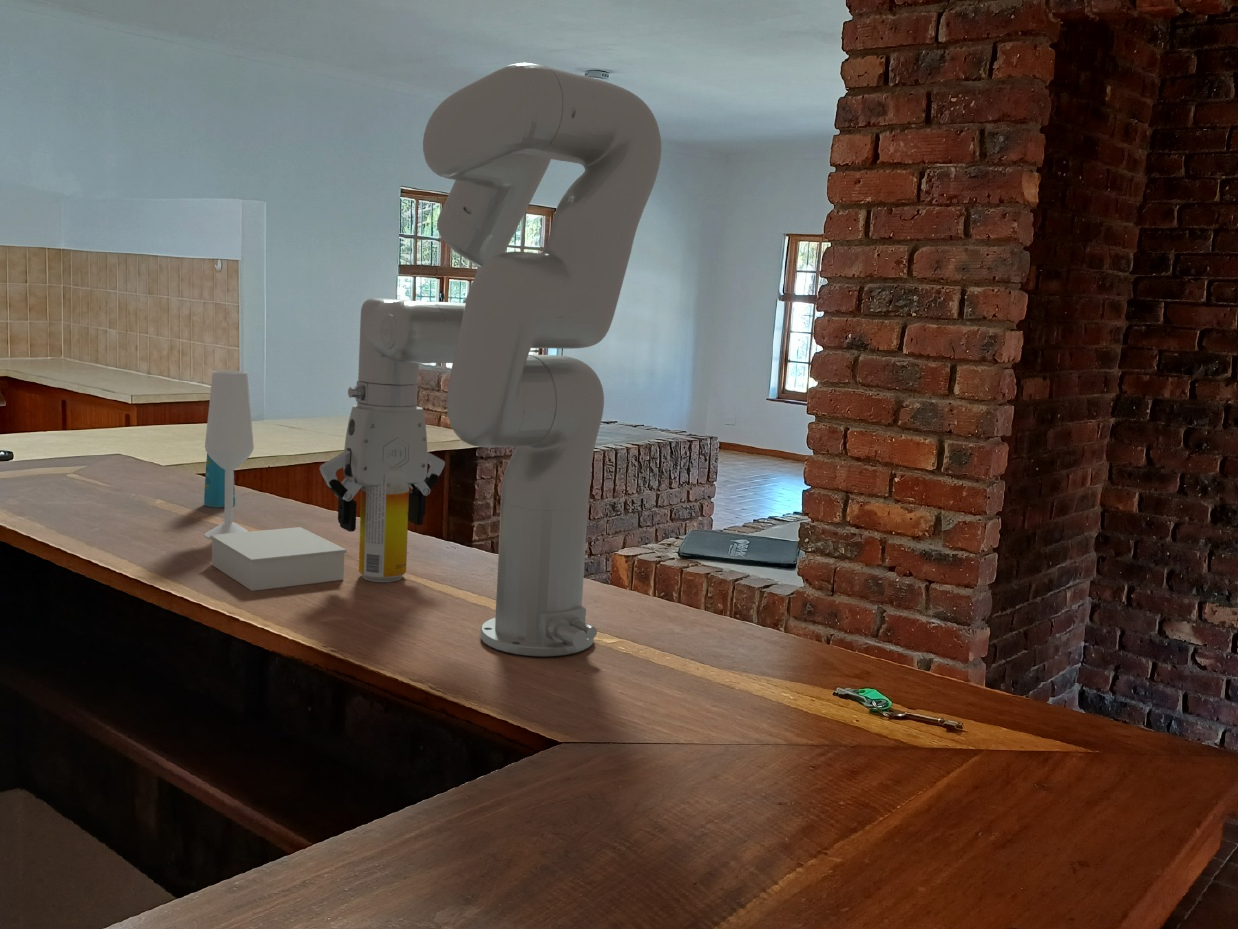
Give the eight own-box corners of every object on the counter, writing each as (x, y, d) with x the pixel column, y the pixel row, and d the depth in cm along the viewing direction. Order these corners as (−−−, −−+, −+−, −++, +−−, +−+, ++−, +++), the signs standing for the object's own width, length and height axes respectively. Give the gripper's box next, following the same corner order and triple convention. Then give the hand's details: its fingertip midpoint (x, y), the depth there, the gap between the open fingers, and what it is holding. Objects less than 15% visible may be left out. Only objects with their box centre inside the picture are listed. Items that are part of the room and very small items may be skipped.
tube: (201, 501, 183) (201, 387, 180) (231, 500, 185) (232, 387, 182) (207, 510, 176) (208, 391, 173) (238, 509, 178) (240, 392, 176)
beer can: (411, 573, 146) (415, 463, 143) (397, 585, 140) (401, 470, 137) (367, 569, 146) (370, 459, 144) (352, 581, 140) (355, 466, 138)
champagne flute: (202, 539, 157) (203, 373, 153) (206, 529, 163) (207, 369, 159) (251, 539, 158) (253, 375, 155) (253, 529, 165) (255, 371, 161)
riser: (345, 579, 141) (346, 549, 140) (251, 591, 133) (251, 559, 132) (299, 555, 151) (300, 527, 151) (209, 564, 144) (210, 535, 143)
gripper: (337, 400, 131) (332, 538, 134) (461, 399, 142) (454, 527, 145) (311, 392, 137) (306, 525, 140) (432, 392, 148) (426, 515, 151)
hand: (381, 526), depth 142 cm, fingers open, 9 cm apart
